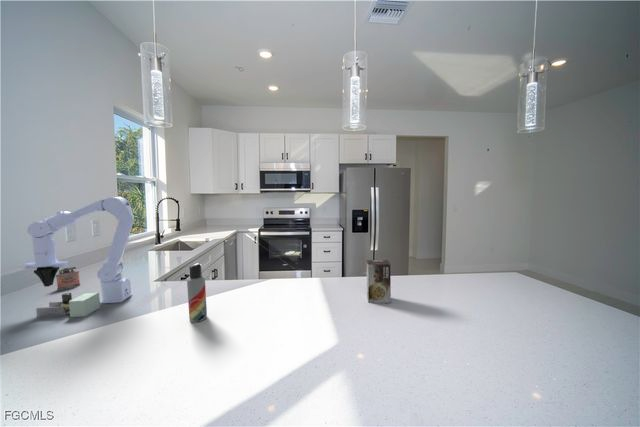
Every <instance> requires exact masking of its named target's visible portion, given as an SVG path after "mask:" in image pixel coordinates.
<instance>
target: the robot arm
mask: <svg viewBox="0 0 640 427" xmlns="http://www.w3.org/2000/svg"><path fill="white" fill-rule="evenodd" d="M103 211H106V212H107V213H109V214H111V215H113V216H114V217H115V219H116V220H117V221H118V222H117V225H116V229H115V232H114V234H113V237H112V242H111V244H110V248H109V251H108V254H107V257H106V259H105V261H104V262H103V263H102V266H101V267H100V268H99V270H98V271H97V272H96V275H97V276H96V277H97V278H98V279H99V281H100V282H99V283H100V290H101V292H100V293H101V299H100V304H113V303H115V304H116V303H122V302H123V301H125V300H127V299H129V297H132V296H133V293H132V288H131V287H132V286H131V281H130V279H129V278H125V277H123V275H122V274H121V273H122V272H123V270H124V266H123V262H124V258H123V257H124V253H125V251H126V247H127V243H128V241H129V238H130V234H131V232H132V228H133V225H134V222H135V216H134V213H133V210H132V206H131V203H130V202H129V201H128V200H127V199H126V198H125V197H123V196H109V197H106V198H103V199H99V200H96V201H93V202H91V203H89V204H87V205H83V206H82V207H80V208H78V209H75V210H73V211H67V210H64V211H62V210H60V211H57V212H56V214H54V215H52V216H48V217H44V218H42V220H41V221H33V222H32V223H30V224H29V225H28V227H27V233H28V234H29V235H30V236H31V239H32V240H31V241H32V248H33V255H34V256H33V257H34V262H27V263H23V264H22V266H23V270H27V269H35V270H33V273H34V274H35V275H36V276H37V277H38V279H40V281H41V283H42V284H43V286H44V287H50V286H53V285H54V281H55V277H56V274H58V273H57V272H59V269H60V268H61V269H64V268H65V267H67V268H69V266H70V263H69V261H67V260H66V261H63V260H58V259H57V250H56V245H55V244H56V243H55V235H54V234H55V233H56V232H57V231H60V230H63V229H65V228H68V227H71V226H72V225H75V223H76V222H77V220H78V219H81V218H82V217H85V216H89V215H90V214H93V213H96V212H103Z"/></svg>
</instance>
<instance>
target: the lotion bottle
mask: <svg viewBox="0 0 640 427" xmlns="http://www.w3.org/2000/svg"><path fill="white" fill-rule="evenodd" d="M188 269H189V277H187V280H186V282H187V283H186V284H187V285H186V287H187V299H188V300H187V301H188V302H187V303H188V318H189V321H190V322H191V321H192V322H191V323H199V322H198V321H200V322H203V321H204V319H205V318H206V319H207V317H208V311H207V310H208V309H207V308H208V307H207V295H206V294H207V292H206V289H207V288H206V277H205V276H204V275H203V273H202V272H203V271H202V264H200V263H195V264H192V265H190V266H189V268H188ZM206 319H205V320H206ZM202 320H203V321H202Z"/></svg>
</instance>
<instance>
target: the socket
mask: <svg viewBox="0 0 640 427" xmlns="http://www.w3.org/2000/svg"><path fill="white" fill-rule="evenodd" d="M100 300H101V299H100V292H87V293H86V292H85V293H84V294H83V293H82V295H79V296H77V297H75V298H72V300H71V301H69V308H70V313H69V315H70V316H69V317H70V318H77V317H87V316H88V315H90V314H91V313H93V312H95V311H96V310H98V309H100V308H101V303H100Z"/></svg>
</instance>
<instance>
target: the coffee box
mask: <svg viewBox="0 0 640 427" xmlns="http://www.w3.org/2000/svg"><path fill="white" fill-rule="evenodd" d="M391 269H392V268H391V263H390V261H389V260H388V259H366V298H367V299H366V300H367V302H368V303H372V304H373V303H374V304H379V303H380V304H391V303H392V302H391V301H392V300H391V298H392V297H391V296H392V294H391V292H392V291H391V289H392V288H391V287H392V286H391V282H392V281H391V280H392V279H391Z"/></svg>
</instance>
